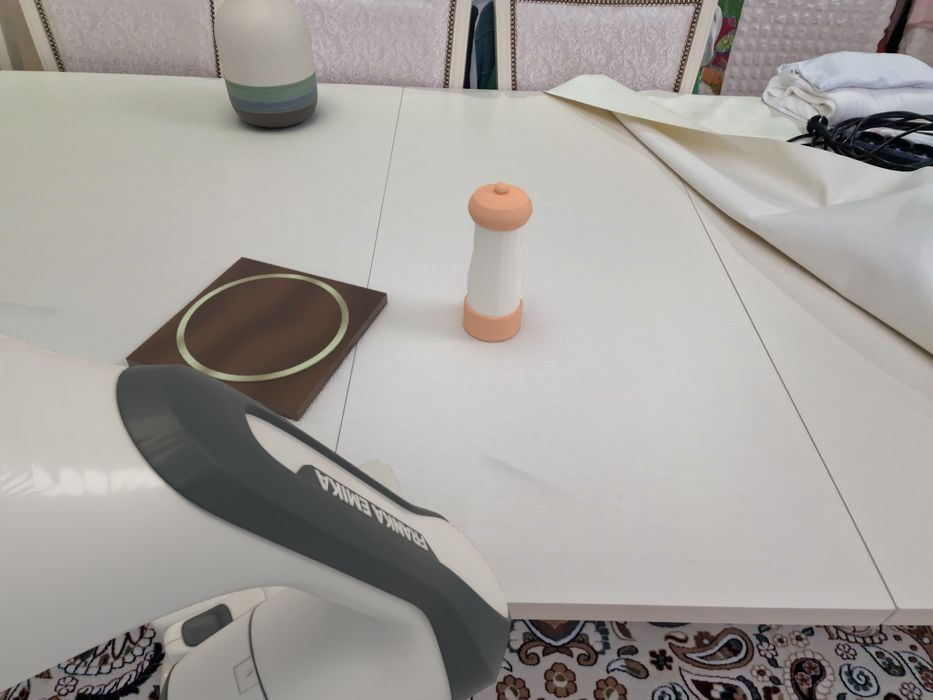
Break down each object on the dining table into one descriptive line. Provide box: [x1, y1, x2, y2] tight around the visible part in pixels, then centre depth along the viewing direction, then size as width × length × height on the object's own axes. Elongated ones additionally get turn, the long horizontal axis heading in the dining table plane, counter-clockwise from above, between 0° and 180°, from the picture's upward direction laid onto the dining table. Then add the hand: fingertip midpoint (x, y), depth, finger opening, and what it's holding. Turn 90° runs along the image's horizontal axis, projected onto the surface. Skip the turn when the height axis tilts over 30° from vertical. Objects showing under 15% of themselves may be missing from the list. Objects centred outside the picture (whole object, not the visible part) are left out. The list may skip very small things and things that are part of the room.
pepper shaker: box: [462, 182, 533, 343], centre depth 71 cm, size 7×7×19 cm
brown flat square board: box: [125, 256, 388, 422], centre depth 75 cm, size 22×22×2 cm
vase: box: [213, 0, 319, 129], centre depth 115 cm, size 17×17×24 cm
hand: (255, 470), depth 52 cm, fingers open, 8 cm apart
